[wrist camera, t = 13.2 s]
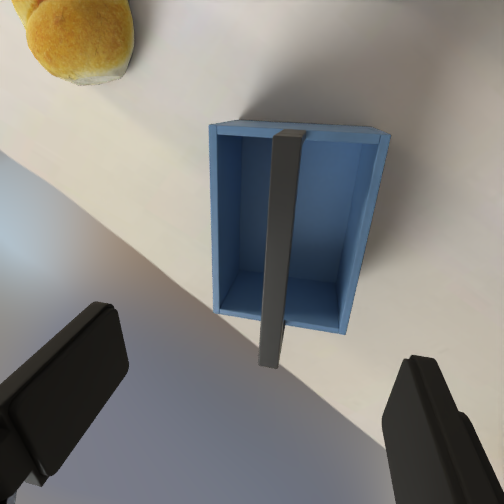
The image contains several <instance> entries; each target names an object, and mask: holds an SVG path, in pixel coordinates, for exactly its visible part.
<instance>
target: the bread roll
mask: <svg viewBox="0 0 504 504" xmlns="http://www.w3.org/2000/svg"><path fill="white" fill-rule="evenodd" d="M12 3H13V5H14V8H15V10H16V12H17V14H18V16H19V17H20V19H21V21H22V23H23V25H24V27H25V29H26V38H27V42H28V46H29V49H30V50H31V52H32V53H33V55H34V57H35V58H36V59H37V60H38V62H39V63H40V64H41V65H42V66H43V67H44V68H45V69H46V70H47V71H48V72H49V73H51V74H52V75H54V76H56V77H59V78H61V79H63V80H65V81H69V82H71V83H74V84H76V85H78V86H81V85H96V84H102V83H106V82H110V81H113V80H117V79H120V78H121V77H122V76H123V75H124V74H125V72H126V69H127V66H128V63H129V60H130V58H131V55H132V51H133V47H134V28H133V19H132V15H131V11H130V8H129V3H128V0H12Z"/></svg>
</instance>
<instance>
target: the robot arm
mask: <svg viewBox="0 0 504 504" xmlns="http://www.w3.org/2000/svg"><path fill="white" fill-rule="evenodd" d="M128 369H129V362H128V357H127V352H126V348H125V343H124V339H123V334H122V330H121V325H120V320H119V316H118V312H117V310H116V309H114V306H113V305H112V304H108V303H101V302H93V303H91V304H90V305H89V306H88V307H87V308H86V309H85V310H83V311H82V312H81V313H80V314H79V315H78V316H77V317H75V318H74V319H73V320H72V321H71V322H70V323H69V324H68V325H66V326H65V327H64V328H63V329H62V330H61V331H60V332H59V333H57V334H56V335H55V336H54V337H53V338H52V339H51V340H50V341H48V342H47V343H46V344H45V345H44V346H43V347H42V348H41V349H40V350H38V351H37V352H36V353H35V354H34V355H33V356H32V357H30V358H29V359H28V360H27V361H26V362H25V363H24V364H23V365H21V367H19V368H18V369H17V370H16V371H15V372H14V373H13V374H11V375H10V376H9V377H8V378H7V379H6V380H5V381H4V382H3V383H1V384H0V504H15V499H16V492H17V489H18V488H19V487H20V486H21V484H22V483H23V481H25V482H26V483H30V484H33V485H37V486H40V487H42V486H43V484H44V483H45V482H46V480H47V479H48V477H49V476H52V475H54V474H55V473H56V472H57V471H58V470H59V469H60V467H61V466H62V464H63V463H64V462H65V460H66V459H67V457H68V456H69V455H70V453H71V452H72V450H73V449H74V448H75V446H76V445H77V443H78V442H79V440H80V439H81V438H82V436H83V435H84V433H85V432H86V431H87V429H88V428H89V426H90V425H91V423H92V422H93V421H94V419H95V418H96V416H97V415H98V413H99V412H100V411H101V409H102V408H103V407H104V405H105V404H106V402H107V401H108V399H109V398H110V397H111V395H112V394H113V392H114V391H115V390H116V388H117V387H118V385H119V384H120V382H121V381H122V380H123V378H124V377H125V375H126V374H127V372H128ZM382 430H383V436H384V441H385V447H386V452H387V457H388V463H389V468H390V474H391V479H392V484H393V490H394V495H395V501H396V504H504V492H503V490H502V488H501V486H500V483H499V481H498V479H497V477H496V475H495V473H494V470H493V468H492V466H491V464H490V462H489V460H488V457H487V455H486V453H485V451H484V449H483V447H482V444H481V442H480V440H479V438H478V436H477V434H476V432H475V429H474V427H473V425H472V423H471V421H470V420H469V418H468V416H467V415H465V414H464V413H463V412H460V411H458V409H457V407H456V404H455V402H454V400H453V398H452V395H451V393H450V391H449V388H448V386H447V384H446V382H445V379H444V377H443V375H442V372H441V370H440V368H439V366H438V363H437V362H436V360H435V359H434V358H429V357H423V356H417V355H412V356H410V358H409V359H404V360H403V362H402V364H401V367H400V370H399V372H398V375H397V378H396V380H395V383H394V386H393V389H392V391H391V394H390V397H389V399H388V402H387V405H386V407H385V410H384V413H383V416H382Z"/></svg>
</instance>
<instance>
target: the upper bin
mask: <svg viewBox="0 0 504 504" xmlns="http://www.w3.org/2000/svg"><path fill="white" fill-rule="evenodd" d="M390 138H391V135H390V134H388V133H385V132H383V131H381V130H378V129H376V128H374V127H368V126H349V125H329V124H310V123H291V122H271V121H252V120H234V121H228V122H222V123H216V124H210V125H209V158H210V198H211V237H212V277H213V312H214V313H216V314H222V315H228V316H235V317H241V318H247V319H253V320H259V321H261V328H260V343H259V360H258V365H259V366H264V367H269V368H274V369H277V368H278V365H279V359H280V353H281V347H282V341H283V335H284V329H285V325H289V326H295V327H301V328H307V329H313V330H319V331H325V332H331V333H337V334H338V333H339V334H343V335H346V331H347V327H348V322H349V318H350V313H351V309H352V305H353V300H354V296H355V292H356V287H357V283H358V278H359V274H360V270H361V265H362V261H363V256H364V252H365V248H366V243H367V239H368V235H369V230H370V226H371V221H372V217H373V213H374V208H375V204H376V200H377V195H378V191H379V186H380V182H381V178H382V173H383V169H384V165H385V160H386V156H387V151H388V147H389V143H390Z"/></svg>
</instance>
